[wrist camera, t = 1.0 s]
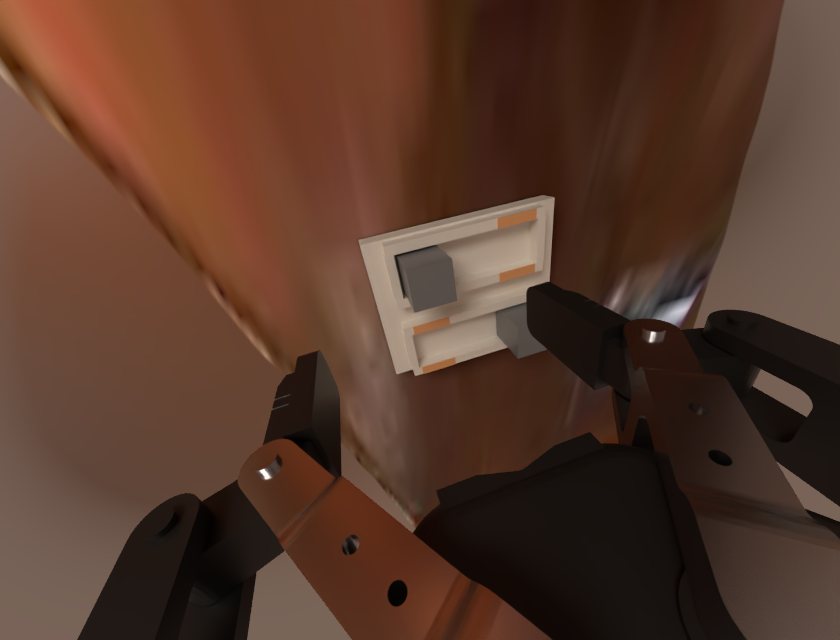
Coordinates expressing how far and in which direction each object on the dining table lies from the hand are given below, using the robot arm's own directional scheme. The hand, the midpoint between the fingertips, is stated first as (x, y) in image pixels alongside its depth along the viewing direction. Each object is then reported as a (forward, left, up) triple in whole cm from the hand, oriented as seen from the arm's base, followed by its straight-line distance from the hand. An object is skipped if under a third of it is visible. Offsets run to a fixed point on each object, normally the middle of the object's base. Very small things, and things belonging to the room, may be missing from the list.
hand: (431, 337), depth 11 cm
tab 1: (+4, +3, -19) cm, 19 cm away
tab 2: (+13, +13, -18) cm, 27 cm away
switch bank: (+9, +8, -21) cm, 24 cm away
